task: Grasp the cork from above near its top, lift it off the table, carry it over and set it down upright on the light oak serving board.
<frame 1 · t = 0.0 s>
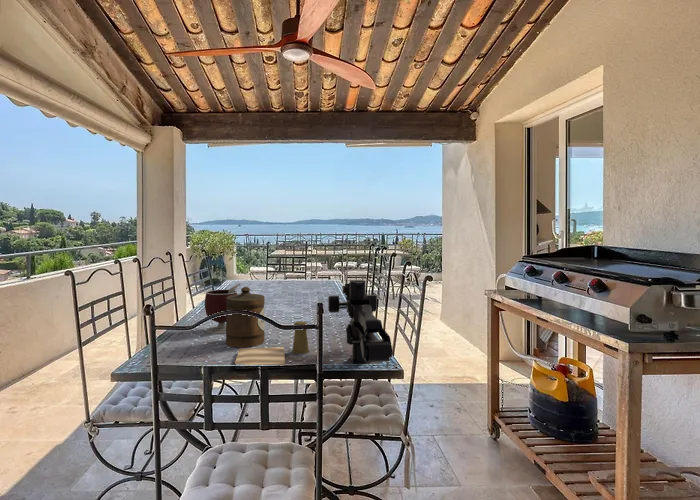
hand: (349, 299, 168), 17 cm above the table, tool horizontal, fingers open, 9 cm apart
mate gourd: (223, 330, 183), on the table
serving board: (260, 359, 144), on the table
cork: (300, 351, 154), on the table
wooden container: (245, 342, 165), on the table
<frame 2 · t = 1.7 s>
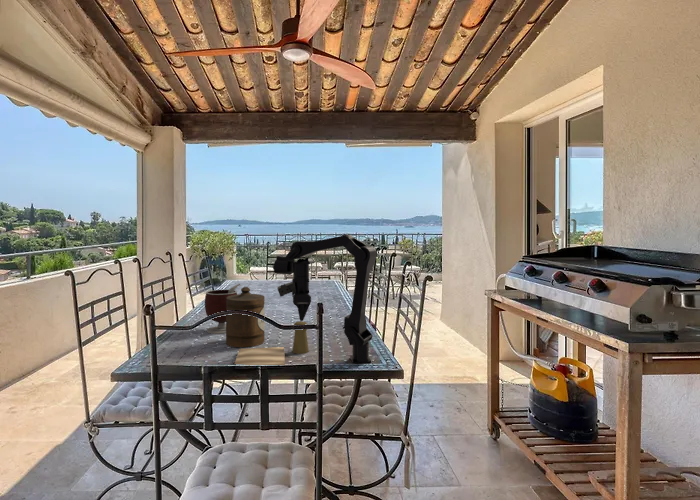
hand: (300, 317, 153), 12 cm above the table, tool pointing down, fingers open, 9 cm apart
nothing on the table moved.
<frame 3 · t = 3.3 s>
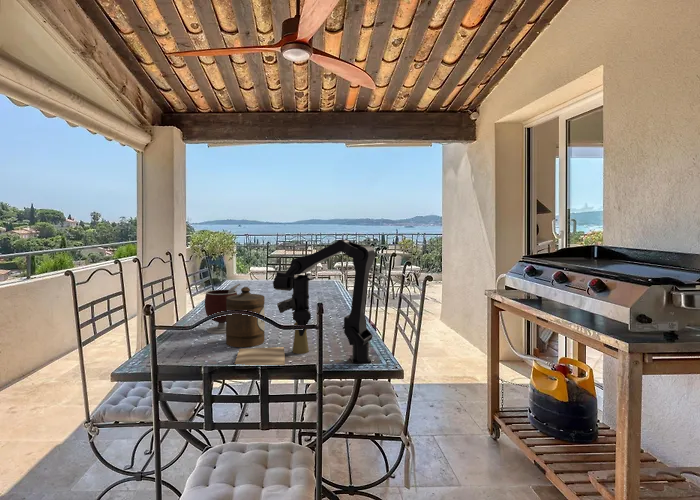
hand: (300, 333, 153), 7 cm above the table, tool pointing down, fingers closed on cork, 5 cm apart
cork: (300, 351, 154), on the table, touching gripper
everything else where it was.
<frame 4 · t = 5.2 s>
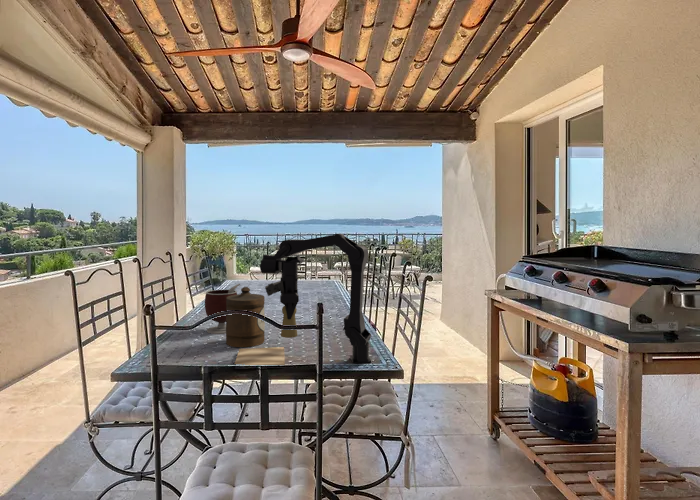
hand: (289, 317, 150), 13 cm above the table, tool pointing down, fingers closed on cork, 5 cm apart
cork: (289, 336, 151), point 6 cm above the table, touching gripper
everything else where it was.
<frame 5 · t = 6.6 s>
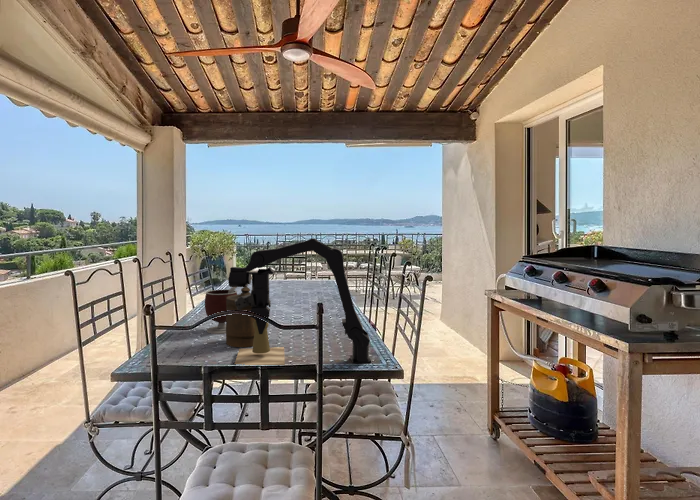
hand: (261, 332, 143), 10 cm above the table, tool pointing down, fingers closed on cork, 5 cm apart
cork: (261, 351, 144), point 3 cm above the table, touching gripper
everything else where it was.
when the fingers open (9 cm above the table, at t = 7.4 s): cork drops 1 cm, resting on serving board.
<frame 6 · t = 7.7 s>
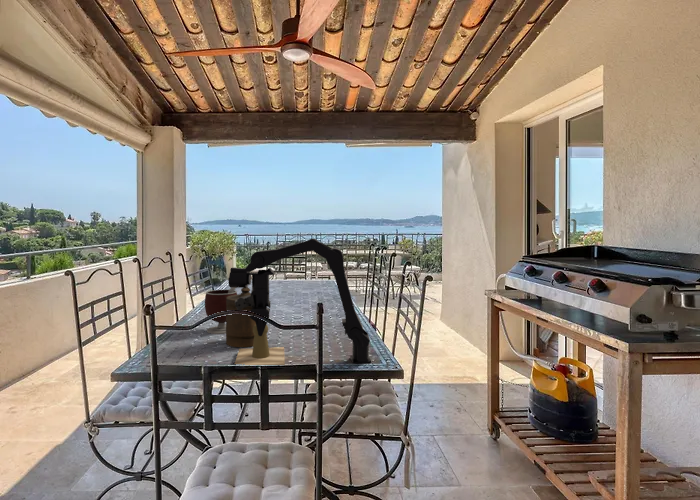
hand: (260, 332, 143), 9 cm above the table, tool pointing down, fingers open, 8 cm apart
cork: (260, 356, 144), point 1 cm above the table, touching serving board
everything else where it was.
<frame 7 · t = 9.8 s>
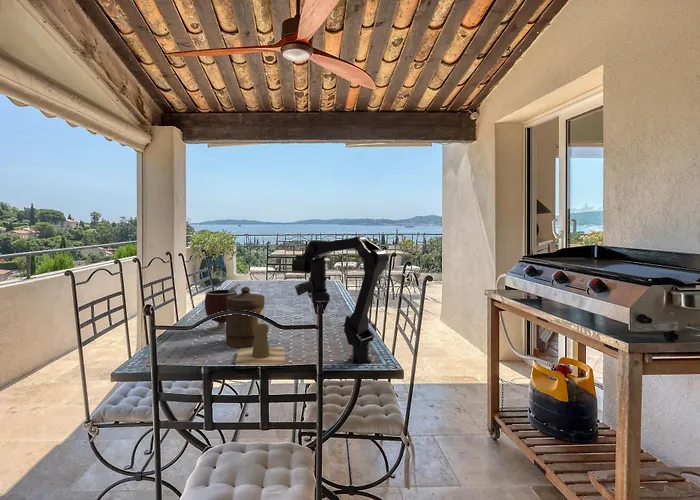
hand: (318, 316, 154), 13 cm above the table, tool pointing down, fingers open, 9 cm apart
nothing on the table moved.
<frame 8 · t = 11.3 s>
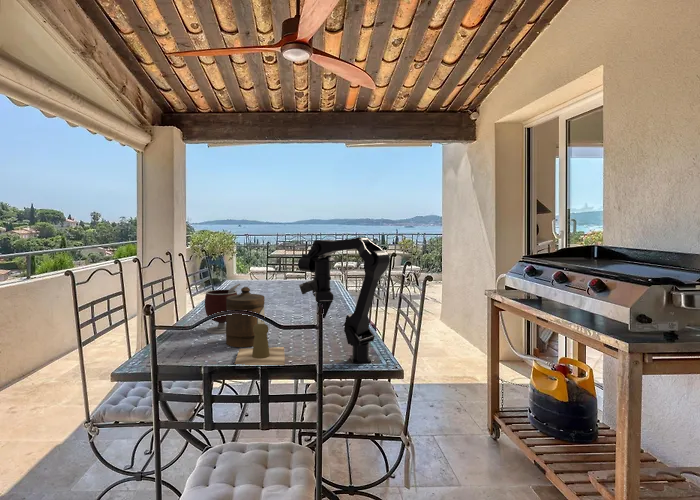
hand: (322, 315, 155), 13 cm above the table, tool pointing down, fingers open, 9 cm apart
nothing on the table moved.
at the end: cork inside the target area on the serving board (0.0 cm from its centre), point 1.3 cm above the serving board's base; cork tilted 0°; the gripper is holding nothing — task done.
